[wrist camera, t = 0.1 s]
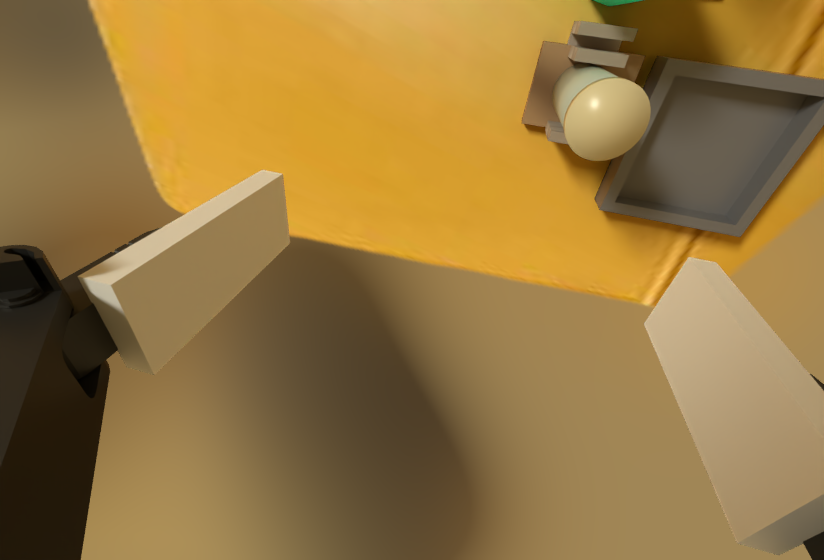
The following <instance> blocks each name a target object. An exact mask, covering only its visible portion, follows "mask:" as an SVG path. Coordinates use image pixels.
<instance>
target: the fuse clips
mask: <svg viewBox="0 0 824 560" xmlns="http://www.w3.org/2000/svg"><path fill="white" fill-rule="evenodd" d="M637 31H638V29H637V28H629V27H622V26H614V25H607V24H599V23H592V22H585V21H574V24H573V27H572V31H571V34H570V37H569V41H568V44H561V43H554V42H547V41H543V44H542V48H541V51H540V55H539V59H538V62H537V66H536V70H535V73H534V77H533V81H532V84H531V88H530V92H529V95H528V99H527V103H526V106H525V110H524V114H523V117H522V123H523V124H529V125H535V126H541V127H546V128H545V131H546V135H547V139H548V141H552V142H558V143H564V144H568V142H567V140H566V137H565V134H564V129H563V126H562V124H561V122H560V120H559V117H558V115H557V113H556V111H555V108H554V106H553V103H552V91H553V87H554V84H555V82H556V81H557V79H558V77H559V76H560V75H561V74H562V73H563V72H564V71H565V70H566V69H568V68H569V67H571V66H573V65H575V64H579V63H592V64H595V65H597V66H599V67H601V68H603V69H605V70H606V71H608V72H610V73H612V74H614V75H616V76H618V77H620V78H625V79H627V80H630V81H632V82H635V80H636V77H637V75H638V73H639V70H640V68H641V66H642V63H643V61H644V59H645V56H644V55H639V54H632V53H625V52H618V50H619V48H620V45H621V43H622V40H623V41H630V42H633V41H634V39H635V36H636V34H637Z"/></svg>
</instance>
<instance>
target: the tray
mask: <svg viewBox="0 0 824 560" xmlns="http://www.w3.org/2000/svg"><path fill="white" fill-rule="evenodd" d="M643 90H644V91H645V93H646V95H647V96H648V99H649V102H650V107H651V114H650V120H649V124H648V126H647V129H646V131H645V132H644V134H643V136H642V137H641V139H640V140H639V141H638V142H637V143H636V144H635V145H634V146H633V147H632V148H631V149H630V150H628V151H627V152H625V153H624V154H622V155H620V156H618V157H616V158H613V159H612V160H611V162H610V165H609V167H608V169H607V172H606V174H605V176H604V178H603V181H602V183H601V185H600V187H599V190H598V192H597V194H596V197H595V201H596V203H597V205H598V207H599V210H603V211H608V212H613V213H618V214H624V215H629V216H634V217H639V218H644V219H649V220H655V221H660V222H665V223H670V224H675V225H680V226H686V227H691V228H696V229H701V230H706V231H712V232H717V233H722V234H727V235H732V236H737V237H741V235H742V234H743V233H744V231H745V230H746V229H747V227H748V226H749V225H750V223H751V222H752V221H753V219H754V218H755V217H756V215H757V214H758V213H759V211H760V210H761V209H762V207H763V206H764V205H765V203H766V202H767V201H768V199H769V198H770V197H771V195H772V194H773V192H774V191H775V190H776V188H777V187H778V186H779V184H780V183H781V182H782V180H783V179H784V178H785V176H786V175H787V174H788V172H789V171H790V170H791V168H792V167H793V166H794V164H795V163H796V162H797V160H798V159H799V158H800V156H801V155H802V154H803V152H804V151H805V150H806V148H807V147H808V146H809V144H810V143H811V141H812V140H813V139H814V137H815V136H816V135H817V133H818V132H819V131H820V129H821V128H822V127H823V125H824V79H819V78H812V77H805V76H798V75H791V74H784V73H777V72H770V71H763V70H755V69H748V68H741V67H734V66H727V65H720V64H713V63H706V62H699V61H692V60H685V59H678V58H671V57H664V56H657V58H656V60H655V62H654V64H653V67H652V69H651V71H650V74H649V76H648V78H647V80H646V83H645V85H644V87H643Z"/></svg>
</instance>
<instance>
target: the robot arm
mask: <svg viewBox="0 0 824 560" xmlns="http://www.w3.org/2000/svg"><path fill="white" fill-rule="evenodd" d="M289 243H290V238H289V229H288V219H287V209H286V199H285V190H284V180H283V174H281V173H276V172H271V171H266V170H261V171H259V172H257V173H256V174H254V175H252V176H251V177H249V178H247V179H245V180H244V181H242V182H240V183H238V184H237V185H235V186H233V187H232V188H230V189H228V190H226V191H225V192H223V193H221V194H219V195H218V196H216V197H214V198H212V199H211V200H209V201H207V202H206V203H204V204H202V205H200V206H199V207H197V208H195V209H193V210H192V211H190V212H188V213H186V214H185V215H183V216H181V217H180V218H178V219H176V220H174V221H173V222H171V223H169V224H167V225H166V226H164V227H161V228H158V229H155V230H152V231H149V232H146V233H144V234H142V235H140V236H139V237H137V238H135V239H133V240H131V241H130V242H129V244H128V245H127V244H124V245H123V246H121V247H119V248H117V249H116V250H115V252H114V253H113V252H110V253H108V254H107V255H105V256H103V257H101V258H100V259H98V260H96V261H94V262H93V263H91V264H89V265H87V266H86V267H84V268H82V269H80V270H78V271H76V272H75V273H73V274H71V275H69V276H68V277H66V278H64V279H62V280H61V281H60V280H59V278H58V277H57V275H56V273H55V272H54V270H53V268H52V266H51V265H50V263H49V262H48V260H47V258H46V256H45V254H44V253H43V251H41V250H40V249H38V248H37V247H33V246H27V245H11V246H3V247H0V560H81V554H82V547H83V541H84V534H85V528H86V521H87V515H88V509H89V503H90V496H91V490H92V483H93V477H94V471H95V464H96V457H97V451H98V444H99V438H100V432H101V425H102V419H103V412H104V406H105V400H106V394H107V387H108V381H109V374H110V368H109V364H108V362H107V361H106V359H107V358H109V357H110V356H111V355H112V354H114V353H115V352H116V351H117V350H118V352H119V354H120V356H121V358H122V360H123V361H124V363H125V365H126V367H128V368H132V369H135V370H139V371H142V372H146V373H149V374H152V375H155V374H156V373H157V372H158V371H159V370H160V369H161V368H162V367H163V366H164V365H165V364H166V363H167V362H168V361H169V360H170V359H171V358H172V357H173V356H174V355H175V354H176V353H177V352H178V351H179V350H180V349H182V347H183V346H185V345H186V344H187V343H188V342H189V341H190V340H191V339H192V338H193V337H194V336H195V335H196V334H197V333H198V332H199V331H200V330H201V329H202V328H203V327H204V326H205V325H206V324H207V323H208V322H209V321H210V320H211V319H212V318H213V317H214V316H215V315H216V314H218V313H219V311H221V310H222V309H223V308H224V307H225V306H226V305H227V304H228V303H229V302H230V301H231V300H232V299H233V298H234V297H235V296H236V295H237V294H238V293H239V292H240V291H241V290H242V289H243V288H244V287H245V286H246V285H247V284H248V283H249V282H250V281H251V280H252V279H254V277H256V276H257V274H259V273H260V272H261V271H262V270H263V269H264V268H265V267H266V266H267V265H268V264H269V263H270V262H271V261H272V260H273V259H274V258H275V257H276V256H277V255H278V254H279V253H280V252H281V251H282V250H283V249H284V248H285V247H286V246H287V245H288V244H289ZM644 325H645V328H646V330H647V332H648V335H649V337H650V339H651V342H652V344H653V346H654V349H655V351H656V354H657V356H658V358H659V360H660V363H661V365H662V368H663V370H664V372H665V375H666V377H667V379H668V381H669V384H670V387H671V389H672V391H673V393H674V396H675V398H676V401H677V403H678V405H679V408H680V410H681V412H682V415H683V417H684V419H685V422H686V424H687V426H688V429H689V431H690V434H691V436H692V438H693V440H694V443H695V445H696V448H697V450H698V452H699V455H700V457H701V459H702V462H703V464H704V467H705V469H706V471H707V474H708V476H709V478H710V481H711V483H712V485H713V488H714V490H715V493H716V495H717V497H718V500H719V502H720V504H721V507H722V509H723V511H724V514H725V516H726V518H727V521H728V523H729V525H730V528H731V530H732V532H733V535H734V537H735V540H736V542H737V543H738V544H742V545H745V546H748V547H752V548H755V549H759V550H762V551H766V552H769V553H773V554H776V555H780V554H783V553H785V552H787V551H789V550H791V549H793V548H795V547H797V546H799V545H801V544H803V543H804V545H805V547H806V549H807V551H808V553H809V554H810V556H811V558H812V560H824V384H823V383H821V382H820V381H819V380H817V379H816V378H815V377H814V376H813V375H811V374H809V373H808V371H806V369H805V368H804V367H803V366H802V364H801V363H800V362H799V361H798V360H797V358H796V357H795V356H794V355H793V354H792V352H791V351H790V350H789V349H788V348H787V346H786V345H785V344H784V343H783V342H782V340H781V339H780V338H779V337H778V336H777V335H776V333H775V332H774V331H773V330H772V329H771V327H770V326H769V325H768V324H767V322H766V321H765V320H764V319H763V318H762V316H761V315H760V314H759V313H758V312H757V310H756V309H755V308H754V307H753V306H752V305H751V303H750V302H749V301H748V300H747V299H746V297H745V296H744V295H743V294H742V293H741V291H740V290H739V289H738V288H737V287H736V286H735V284H734V283H733V282H732V281H731V279H730V278H729V277H728V276H727V275H726V273H725V272H724V271H723V270H722V269H721V267H720V266H719V265H718V264H717V263H716V262H711V261H707V260H702V259H697V258H692V257H689V258H688V259H687V261H686V262H685V264H684V265H683V267H682V268H681V270H680V271H679V273H678V274H677V276H676V277H675V278H674V280H673V281H672V283H671V284H670V286H669V287H668V289H667V290H666V292H665V293H664V295H663V296H662V298H661V299H660V301H659V302H658V304H657V305H656V307H655V308H654V310H653V311H652V313H651V314H650V315H649V317H648V318H647V320H646V321H645V323H644Z"/></svg>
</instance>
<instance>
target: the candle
mask: <svg viewBox="0 0 824 560" xmlns="http://www.w3.org/2000/svg"><path fill="white" fill-rule="evenodd" d="M593 1H596V2H598V3H601V4H604V5H606V6H614V5H620V4H626V3H631V2H637V1H643V0H593Z"/></svg>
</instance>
